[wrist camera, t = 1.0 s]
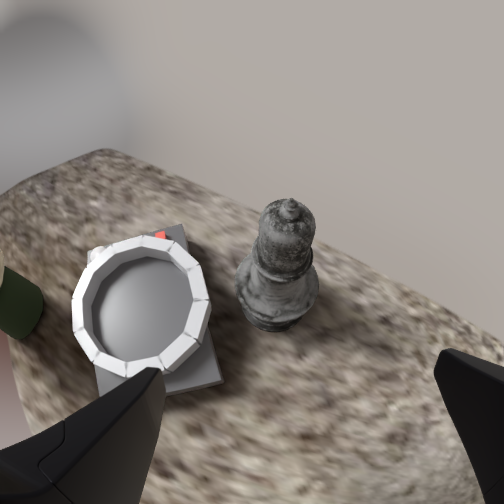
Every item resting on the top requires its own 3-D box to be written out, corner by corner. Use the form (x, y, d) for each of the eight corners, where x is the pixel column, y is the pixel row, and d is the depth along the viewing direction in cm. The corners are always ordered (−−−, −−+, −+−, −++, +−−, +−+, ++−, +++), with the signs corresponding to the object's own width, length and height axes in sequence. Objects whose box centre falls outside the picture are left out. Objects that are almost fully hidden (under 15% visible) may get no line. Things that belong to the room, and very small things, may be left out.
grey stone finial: (253, 347, 21) (255, 278, 10) (226, 282, 23) (208, 174, 13) (322, 317, 22) (380, 230, 11) (290, 258, 25) (314, 147, 14)
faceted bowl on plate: (234, 380, 19) (230, 374, 16) (108, 405, 18) (81, 402, 14) (195, 238, 26) (187, 210, 22) (92, 266, 24) (73, 244, 21)
